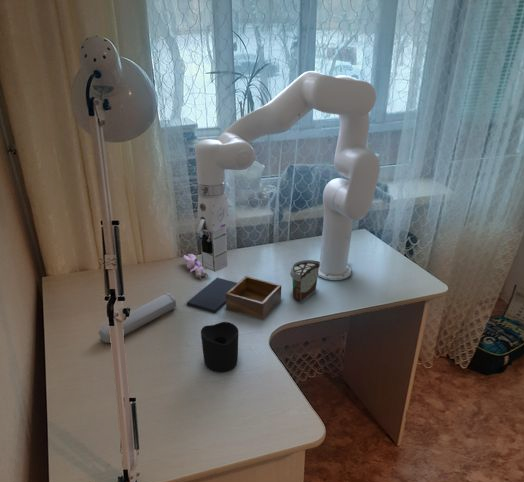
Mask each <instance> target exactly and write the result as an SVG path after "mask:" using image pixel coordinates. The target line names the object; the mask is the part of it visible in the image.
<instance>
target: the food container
mask: <svg viewBox="0 0 524 482" xmlns="http://www.w3.org/2000/svg"><path fill="white" fill-rule="evenodd" d="M319 267H320V260H315V259H306V260H305V259H304V260H299V261H297V262H295V263H294V264H293V265H292V267H291V269H290V271H289V272H290V273H289V275H290V277H291V278H292V298H293V299H294V300H295V301H296V302H298V303H300V304H301V303H302V302H304V301H305V300H306V299H307V298H309V297H310V296H311V295H312V294H314V293H315V292H316V291H317V286H318V285H317V284H318V277H319V276H318V271H319Z"/></svg>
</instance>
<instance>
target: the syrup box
mask: <svg viewBox="0 0 524 482" xmlns="http://www.w3.org/2000/svg"><path fill="white" fill-rule="evenodd" d="M205 229H206V230H208V229H207V227H205ZM205 235H206V236H208V232H205ZM227 240H228V239H227V224H226V222H225V221H224V222H222V224H221V228H220V229H219V230H217V231H216V232H214V233H211V241H212V254H209V253H205V252H202V240H200V251H201V252H200V253H201V267H205V268H207V269H208V270H210V271H212V272H214V273H216V272H218V271H221V270H223V269H225V268H227V267H228V264H229V263H228V242H227ZM207 269H206V270H207Z"/></svg>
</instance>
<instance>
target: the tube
mask: <svg viewBox="0 0 524 482" xmlns="http://www.w3.org/2000/svg"><path fill="white" fill-rule="evenodd" d="M176 307H177V301H176V299H175V298H174V296H173V294H171V293H169V292H167V291H165V292H164V294H162V295H160V296H158V297H156V298H154V299H152V300H150V301H149V302H147V303H145V304H142V305H141V306H139V307H137V308H135V309H133V310H131V311H130V312H131V313H130V316H129V318H128V319H127V320H126V321H125V322H124V324H123V329H124V336H123V337H125V336H127V335H128V334H130V333H132V332H134V331H136V330H137V329H139V328H141V327H143V326H144V325H146V324H148V323H151V322H152V321H155V320H156V319H158V318H159V317H161V316H164V314H166V313H169V312H170V311H174V310H175V309H176ZM98 335H99V338H100V339H101V342H104V343H106V344H111V343H110V334H109V326H108V323H106V324H105V325H102V326H101V328H100V330H99V331H98Z"/></svg>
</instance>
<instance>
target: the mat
mask: <svg viewBox="0 0 524 482" xmlns="http://www.w3.org/2000/svg"><path fill="white" fill-rule="evenodd" d="M237 283H238V282H236V281H231V280H229V279H224V278H221V277H216V278H215V279H213V280H212V281H211V282H210V283H209V284H208V285H206V286H205V287H204V288H203V289H201V290H200V291H198V293H196V294H194V296H193V297H191V298H190V299H189V300H188V301H187V302H186V305H187V306H190V307H194V308H196V309H199V310H203V311H206V312H210V313H213V314H216V313H217V312H218V311H219V310H220V309H221V308H222V307H223V306H225V305H226V293H227V292H228V291H229V290H230V289H231V288H233V287H234V286H235V285H236V284H237Z"/></svg>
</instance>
